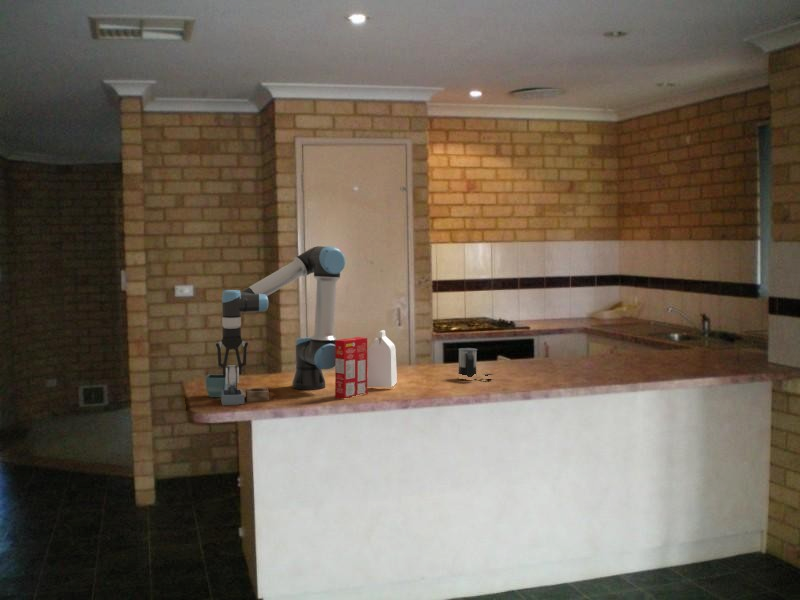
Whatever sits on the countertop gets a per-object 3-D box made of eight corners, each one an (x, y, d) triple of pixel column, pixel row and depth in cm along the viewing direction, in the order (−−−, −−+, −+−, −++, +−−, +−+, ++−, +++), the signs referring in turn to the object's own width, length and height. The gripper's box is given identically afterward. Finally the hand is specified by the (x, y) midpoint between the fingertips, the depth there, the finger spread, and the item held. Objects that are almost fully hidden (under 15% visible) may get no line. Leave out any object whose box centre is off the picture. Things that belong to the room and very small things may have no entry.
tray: (242, 398, 363) (242, 389, 362) (244, 404, 350) (244, 394, 350) (220, 399, 360) (220, 389, 360) (222, 405, 348) (222, 395, 348)
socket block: (266, 396, 366) (266, 387, 366) (268, 400, 358) (268, 391, 357) (245, 397, 364) (245, 388, 364) (247, 401, 355) (247, 392, 355)
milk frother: (454, 378, 415) (454, 348, 414) (482, 376, 422) (483, 346, 420) (468, 383, 402) (468, 352, 401) (497, 380, 408) (497, 350, 407)
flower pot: (229, 394, 371) (228, 374, 370) (225, 398, 362) (225, 377, 361) (208, 394, 370) (208, 374, 370) (204, 398, 362) (204, 377, 361)
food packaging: (358, 392, 376) (358, 337, 374) (367, 394, 373) (367, 338, 371) (335, 397, 365) (335, 340, 363) (344, 399, 362) (344, 341, 360)
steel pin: (237, 393, 357) (236, 364, 356) (237, 394, 354) (237, 366, 353) (227, 393, 356) (227, 365, 356) (227, 395, 353) (227, 366, 352)
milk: (391, 389, 384) (391, 332, 382) (367, 388, 386) (367, 332, 384) (397, 385, 396) (397, 329, 393) (373, 384, 398) (373, 329, 396)
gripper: (251, 325, 358) (252, 380, 360) (210, 326, 354) (211, 381, 356) (253, 327, 351) (253, 383, 353) (211, 328, 347) (211, 385, 349)
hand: (232, 382), depth 355 cm, fingers closed on steel pin, 4 cm apart
